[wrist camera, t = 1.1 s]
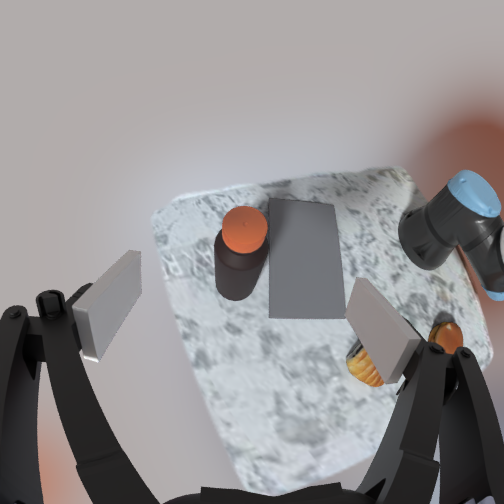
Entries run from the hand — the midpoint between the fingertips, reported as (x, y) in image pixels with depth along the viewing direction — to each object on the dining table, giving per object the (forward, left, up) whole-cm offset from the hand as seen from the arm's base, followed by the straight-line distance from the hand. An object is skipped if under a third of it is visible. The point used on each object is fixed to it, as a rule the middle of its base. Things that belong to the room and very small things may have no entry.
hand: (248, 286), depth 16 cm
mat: (-13, -16, -30) cm, 37 cm away
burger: (-45, +3, -31) cm, 55 cm away
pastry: (-25, +5, -31) cm, 39 cm away
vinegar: (0, -10, -30) cm, 32 cm away
